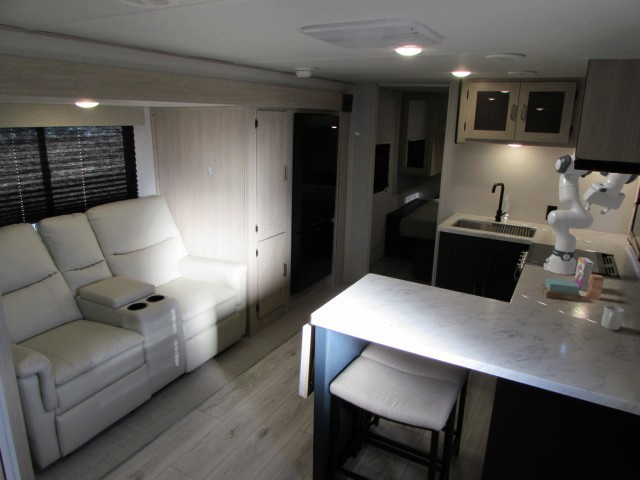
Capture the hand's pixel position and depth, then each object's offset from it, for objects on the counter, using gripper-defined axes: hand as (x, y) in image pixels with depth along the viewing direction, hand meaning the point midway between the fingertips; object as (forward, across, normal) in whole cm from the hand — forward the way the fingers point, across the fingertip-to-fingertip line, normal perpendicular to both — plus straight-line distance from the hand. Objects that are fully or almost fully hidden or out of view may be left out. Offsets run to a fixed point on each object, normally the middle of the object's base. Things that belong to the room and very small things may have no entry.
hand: (594, 212), depth 243 cm
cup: (+29, +11, +61) cm, 68 cm away
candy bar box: (+42, -13, +10) cm, 45 cm away
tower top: (+38, +8, +22) cm, 45 cm away
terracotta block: (+37, -9, +25) cm, 46 cm away
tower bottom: (+42, +8, +24) cm, 49 cm away
